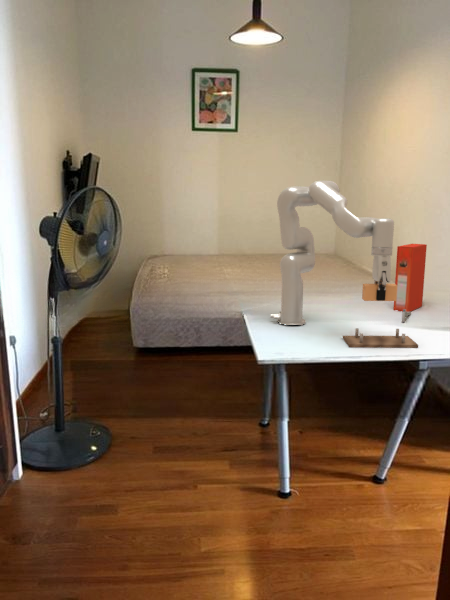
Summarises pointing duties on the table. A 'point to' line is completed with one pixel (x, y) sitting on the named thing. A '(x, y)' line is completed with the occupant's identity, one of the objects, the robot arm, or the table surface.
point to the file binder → (410, 276)
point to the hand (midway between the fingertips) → (379, 298)
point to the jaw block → (371, 292)
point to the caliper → (405, 315)
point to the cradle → (379, 341)
